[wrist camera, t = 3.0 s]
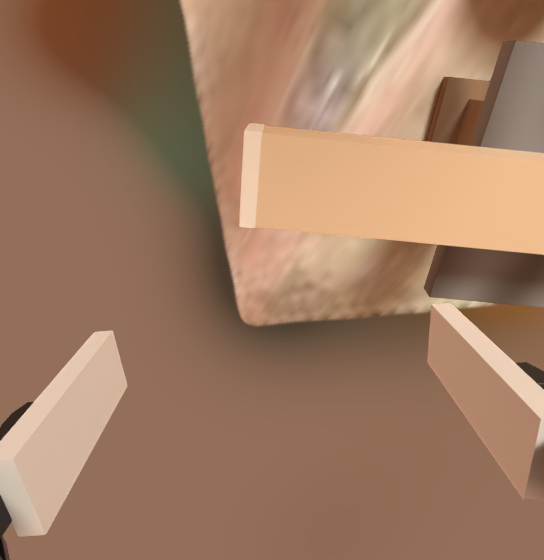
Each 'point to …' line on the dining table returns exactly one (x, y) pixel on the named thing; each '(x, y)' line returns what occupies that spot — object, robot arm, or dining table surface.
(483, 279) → the shelf stand
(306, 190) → the tan rectangular bar
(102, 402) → the robot arm
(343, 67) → the dining table surface
